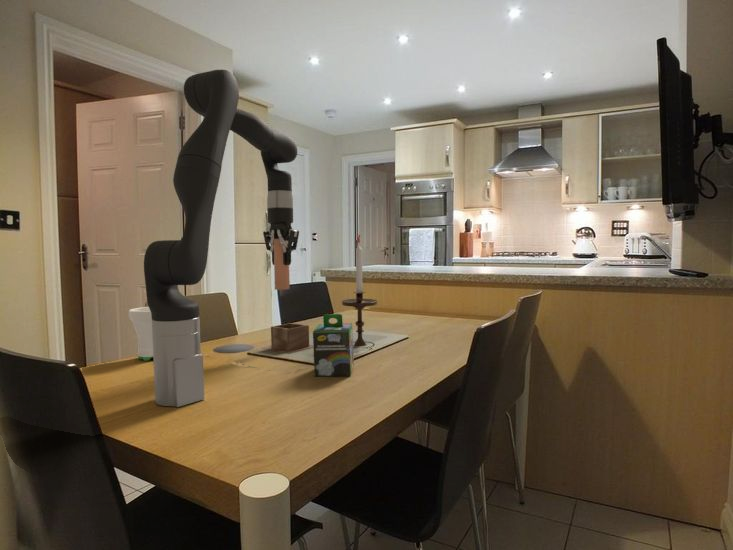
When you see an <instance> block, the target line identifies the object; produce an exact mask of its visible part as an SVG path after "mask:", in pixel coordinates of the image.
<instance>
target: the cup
mask: <svg viewBox="0 0 733 550" xmlns="http://www.w3.org/2000/svg"><path fill="white" fill-rule="evenodd" d="M128 319H129V320H130V321H131V323H132V325H133V329H134V330H135V333H136V339H137V346H138V348H137V358H138V360H143V361H145V362H148V361H151V359H152V358H153V340H152V317H151V311H150V309H149V306H141V307H136V308H130V309H129V310H128Z"/></svg>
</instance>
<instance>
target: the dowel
mask: <svg viewBox="0 0 733 550" xmlns="http://www.w3.org/2000/svg"><path fill="white" fill-rule="evenodd" d="M284 241H288V240H284ZM286 247H288V245H286ZM283 253H285V252H284V251H283V247H282V245H281V244H280V239H274V265H273V266H274V267H273V268H274V269H273V270H274V273H273V274H274V290H277V291H284V290H290V283H291V282H290V280H291V279H290V265H284V264H283Z"/></svg>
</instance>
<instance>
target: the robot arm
mask: <svg viewBox="0 0 733 550" xmlns="http://www.w3.org/2000/svg"><path fill="white" fill-rule="evenodd" d="M239 93H240V91H239V84H238V81H237V79H236V77H235V76H234V74H233V73H232V72H231V71H229V70H227V69H213V70H210V71H204V72H199V73H196V74H192V75H190V76H188V77H187V78H186V80H185V81H184V84H183V94H184V98H185V101H186V103H187V104H188V106H189V107H190V108H191V109H192V111H194V112H195V113H196V114H199V116H202V117H203V119H202V121H201V123H200V124H199V125H198V126H197V128H196V129H195V130H194V131H193V132H192V133H191V135H190V136H189V138H188V139H187V140H186V141H185V143H184V144H183V145H182V147H181V149H180V151H179V153H178V156H177V158H176V159H177V160H176V164H175V168H174V173H173V178H172V181H173V187H174V190H175V194H176V195H177V198H178V200H179V202H180V204H181V207H182V210H183V212H184V218H185V219H184V228H183V233H182V234H183V235H182V237H181V239H169V240H167V239H166V240H156V241H153V242H151V243H150V244H149V245H148V246H147V248H146V249H145V253H144V258H143V275H144V283H145V292H146V293H145V294H146V295H145V296H146V302H147V307H149V309H150V311H151V317H152V340H153V357H152V358H153V379H154V380H153V381H154V382H153V383H154V398H155V399H154V400H155V404H156V405H158V406H161V407H163V406H164V407H175V408H179V407H183V406H187V405H190V404H192V403H196V402H199V401H204V400H205V380H204V379H205V377H204V374H205V373H204V359H203V358H204V356H203V354H202V350H201V347H202V345H201V326H200V325H201V322H200V321H201V320H200V306H199V304H198V303H197V302H196V301H194V300H191V299H190V298H188V297H186V296H184V295H183V294H182V292H180V290H179V286H193V285H197V284H198V283H199V282H201V280H202V279H203V278H204V275H205V272H206V268H207V264H208V257H209V248H210V247H209V246H210V245H209V244H210V235H211V234H210V233H211V225H212V218H213V217H212V216H213V211H214V205H215V200H216V195H217V192H218V188H219V183H220V178H221V174H222V173H221V172H222V166H223V160H224V156H225V155H224V154H225V151H226V146H227V141H228V137H229V133H230V131H232V132H233V133H235V134H236V135H238V136H240V137H241V138H242V139H243V140H245V141H246V142H247V143H249V144H250V145H252V146H253V147H254V148H255V149H256V150H258V151H260V157H261V160H262V163H263V167H264V170H265V174H266V178H267V198H266V207H267V208H266V209H267V214H266V215H267V223H268V224H269V225H270V226H269V228H268V229H269V230H265V231H262V232H263V233H262V235H263V238H264V239H263V240H264V244H265V248H266V250H267V251H270V253H271V263H272V266H274V239H280V244H281V245H282V247H283V251H284V252H285V253H283V264H284V265H289V266H290V265H291V264H292V252H293V251H297V246H298V241H299V235H300V231H299V229H293V226H292V224H293V223H294V199H293V192H292V191H293V190H292V189H293V188H292V187H293V185H292V184H293V183H292V175H291V173H290V172H288V171H285V170H280V169H279V166H278V164H286V163H291V162H293V161H295V160H296V158H297V156H298V147H297V144H296V143H295V141H294V140H293V139H292V138H291V137H289V136H288V135H286V134H284V133H283V132H280V131H278V130H276V129H273V128H272V127H271V126H270V125H269V124H268V123H266V122H265V121H264V120H263V119H262V118H260V117H259V116H257V115H255V114H253V113H251V112H248V111H246V110H243V109H240V108H238V105H239V96H240V94H239ZM284 240H288V241H284ZM286 245H288V247H286Z"/></svg>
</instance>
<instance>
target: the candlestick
mask: <svg viewBox="0 0 733 550" xmlns="http://www.w3.org/2000/svg"><path fill="white" fill-rule="evenodd" d="M360 238H361V235H360V234H358V236H357V240H356V241H357V247H356V248H355V284H356V287H355V289H356V290H355V291H353V294H355V298H348V299H347V298H346V299H343V300H341V305H342V306H345V307H353V308H355V309H356V310H357V320H356V321H355V323H354V324H355V327H357V329H356V330H355V333H357V339H356V340H355V341H353V349H355V347H363V349H368V348H371V347H374V346H375V343H374V342H371V341H365V340H364V339H363V333H364V332H365V330H363V326H364V325H365V322H364V321H363V310H364V309H365V308H366V307H372V306H374V307H375V306H376V305H378V299H374V298H364V294H366V293H367V292H365V291H363V248H362V247H361V245H360V243H361V239H360ZM367 344H372V345H371V346H367ZM354 346H355V347H354ZM365 346H366V347H365Z"/></svg>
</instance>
